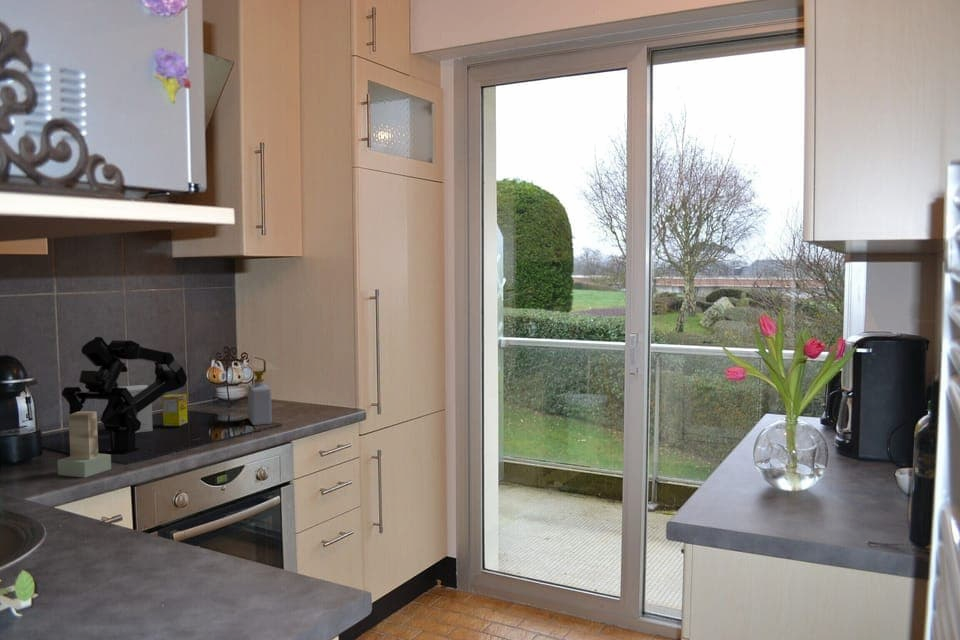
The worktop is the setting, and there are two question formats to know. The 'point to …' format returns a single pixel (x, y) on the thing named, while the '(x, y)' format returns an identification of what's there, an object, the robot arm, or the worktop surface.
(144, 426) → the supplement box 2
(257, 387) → the soap bottle
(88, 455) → the maple block
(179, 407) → the supplement box
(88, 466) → the riser block
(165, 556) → the worktop surface
